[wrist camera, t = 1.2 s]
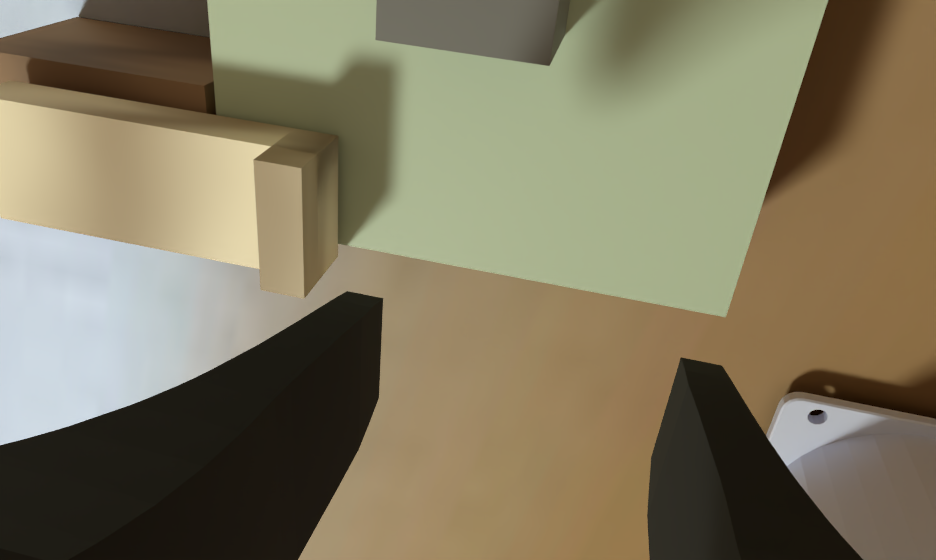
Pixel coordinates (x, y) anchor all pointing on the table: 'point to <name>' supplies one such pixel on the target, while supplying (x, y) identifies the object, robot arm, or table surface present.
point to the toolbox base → (114, 62)
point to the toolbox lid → (536, 128)
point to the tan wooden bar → (172, 181)
